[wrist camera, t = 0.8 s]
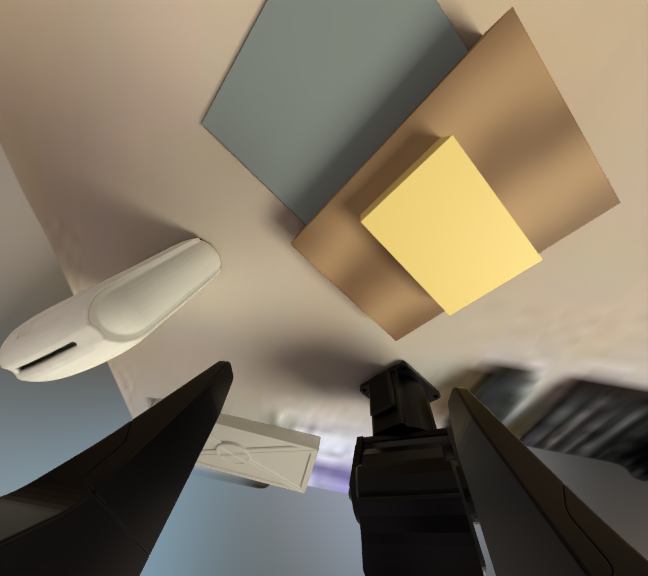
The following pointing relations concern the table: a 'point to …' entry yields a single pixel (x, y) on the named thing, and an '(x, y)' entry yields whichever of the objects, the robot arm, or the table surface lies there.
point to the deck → (488, 157)
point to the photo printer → (109, 314)
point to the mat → (328, 89)
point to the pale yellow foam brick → (449, 228)
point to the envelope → (260, 452)
